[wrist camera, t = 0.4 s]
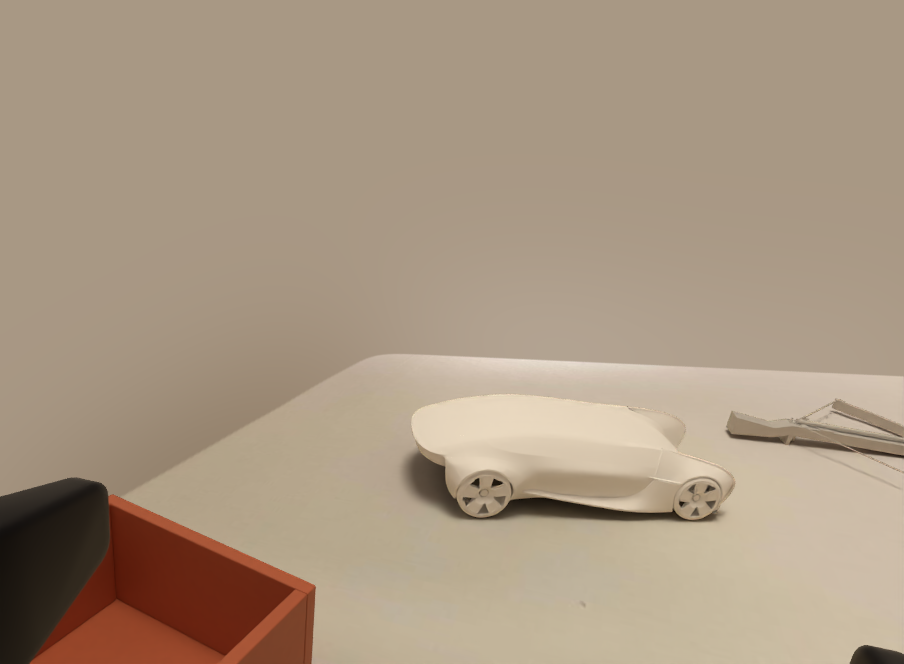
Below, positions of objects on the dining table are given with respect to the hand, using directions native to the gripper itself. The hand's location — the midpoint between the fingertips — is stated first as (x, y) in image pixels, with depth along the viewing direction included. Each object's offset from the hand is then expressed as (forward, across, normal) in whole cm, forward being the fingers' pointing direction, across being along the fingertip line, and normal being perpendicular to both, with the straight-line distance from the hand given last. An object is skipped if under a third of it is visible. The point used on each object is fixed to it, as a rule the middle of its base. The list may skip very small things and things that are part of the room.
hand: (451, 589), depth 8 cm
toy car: (+30, -3, +15) cm, 34 cm away
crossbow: (+42, -22, +15) cm, 50 cm away
